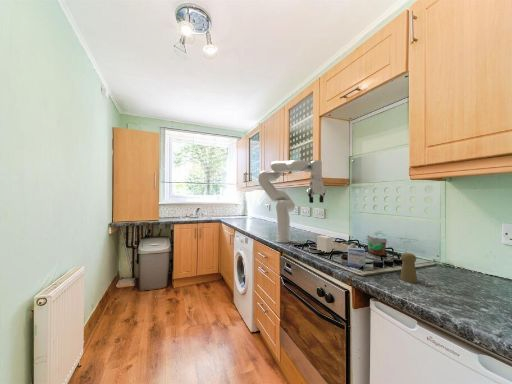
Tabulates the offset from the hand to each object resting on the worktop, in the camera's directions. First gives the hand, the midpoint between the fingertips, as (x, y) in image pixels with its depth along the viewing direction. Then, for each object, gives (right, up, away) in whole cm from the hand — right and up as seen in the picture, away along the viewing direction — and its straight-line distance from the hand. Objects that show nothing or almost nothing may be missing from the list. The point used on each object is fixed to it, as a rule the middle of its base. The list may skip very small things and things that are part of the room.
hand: (316, 202), depth 156 cm
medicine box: (+8, -30, -44) cm, 54 cm away
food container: (+29, -30, -22) cm, 47 cm away
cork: (+21, -30, -63) cm, 73 cm away
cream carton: (+1, -30, -13) cm, 33 cm away
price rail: (+9, -30, -9) cm, 33 cm away
